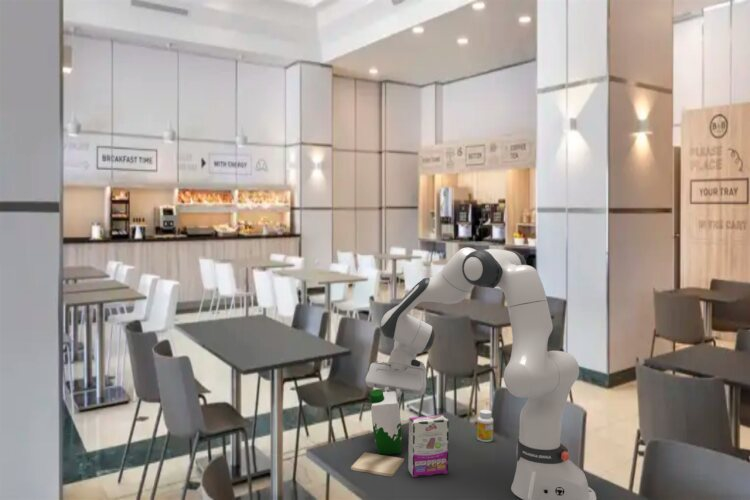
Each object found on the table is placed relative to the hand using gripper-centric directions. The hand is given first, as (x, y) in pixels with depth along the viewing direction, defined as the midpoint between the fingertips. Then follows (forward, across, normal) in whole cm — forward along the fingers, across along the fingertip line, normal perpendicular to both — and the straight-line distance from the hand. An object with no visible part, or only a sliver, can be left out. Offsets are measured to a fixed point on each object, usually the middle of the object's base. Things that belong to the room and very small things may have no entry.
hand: (389, 401), depth 195 cm
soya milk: (+12, +1, +10) cm, 15 cm away
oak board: (+20, +2, +2) cm, 21 cm away
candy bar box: (+19, +17, +2) cm, 26 cm away
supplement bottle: (-4, +28, +26) cm, 38 cm away
